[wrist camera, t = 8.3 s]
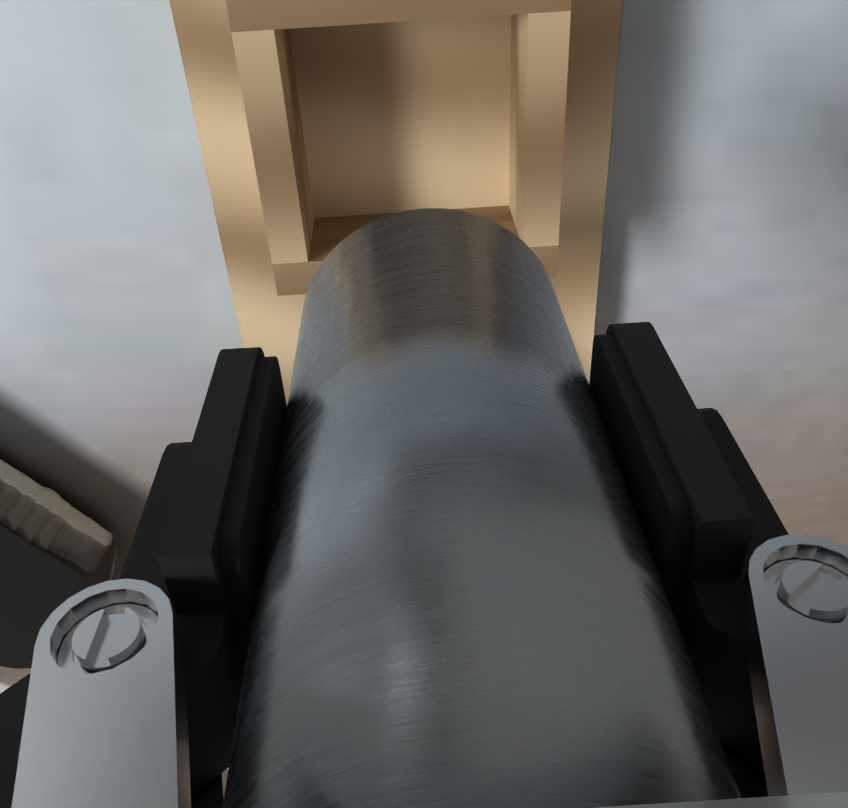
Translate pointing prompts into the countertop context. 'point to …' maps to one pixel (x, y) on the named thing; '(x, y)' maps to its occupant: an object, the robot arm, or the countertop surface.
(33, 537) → the black sponge
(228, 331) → the countertop surface
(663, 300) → the countertop surface
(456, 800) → the bottle
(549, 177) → the holder
